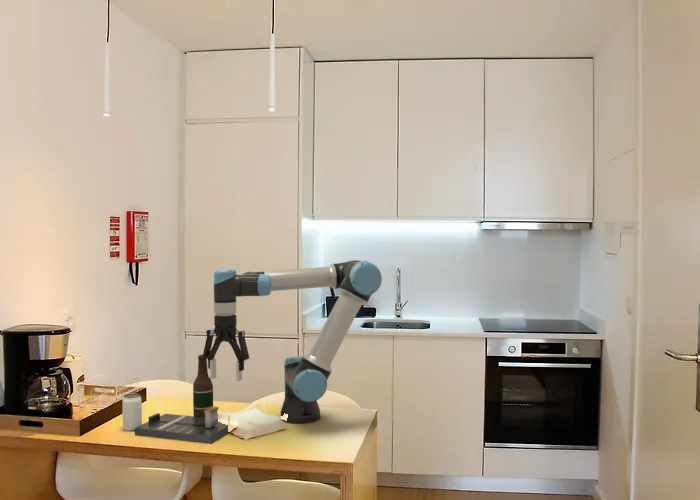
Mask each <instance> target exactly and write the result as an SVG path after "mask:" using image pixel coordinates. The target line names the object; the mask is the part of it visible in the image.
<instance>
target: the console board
mask: <svg viewBox="0 0 700 500" xmlns="http://www.w3.org/2000/svg"><path fill="white" fill-rule="evenodd" d="M147 418H148V421H146V422H145V423H142V425H140V426H138V427H136V428H135V431H134V435H135V436H140V437H141V436H142V437H147V438H157V439H167V440H175V441H183V442H193V443H194V442H195V443H202V444H209V445H210V444H213V443H215V442H216V441H218V440H220V439H221V438H222V437H224V436H225V435H228V434H229V433H228V425H225V424H222V423H220V422H218V424H216V425H214V426H213V427H211V428H208V427H205V417H195V416H194V415H183V414H172V413H164V414H162V415H161V413H158V412H157V413H154V414H153V415H150V416H148V417H147Z"/></svg>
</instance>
